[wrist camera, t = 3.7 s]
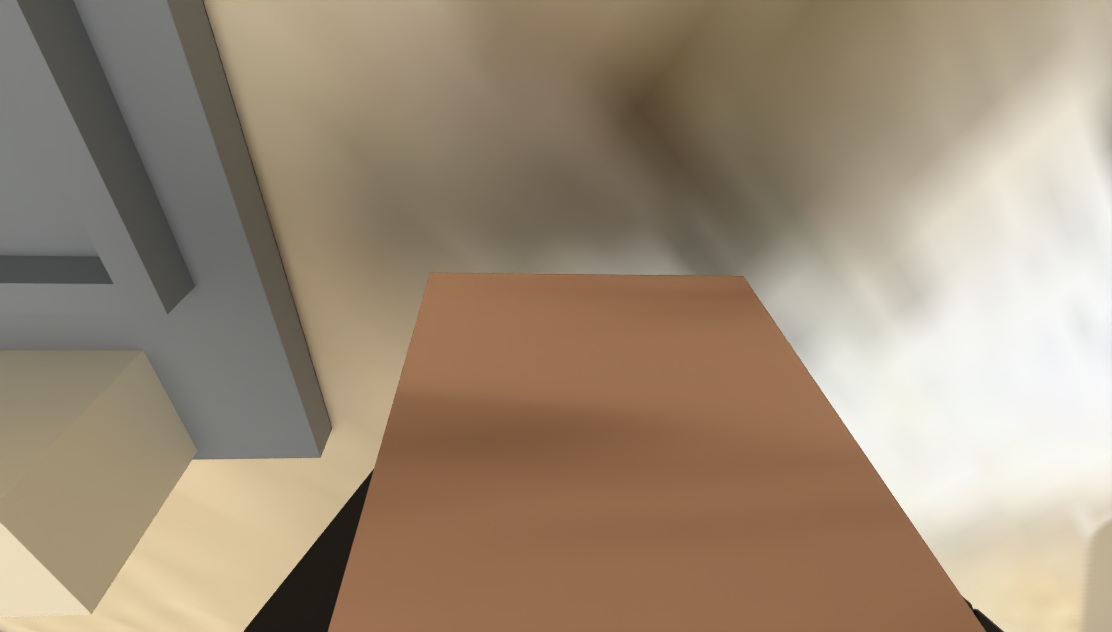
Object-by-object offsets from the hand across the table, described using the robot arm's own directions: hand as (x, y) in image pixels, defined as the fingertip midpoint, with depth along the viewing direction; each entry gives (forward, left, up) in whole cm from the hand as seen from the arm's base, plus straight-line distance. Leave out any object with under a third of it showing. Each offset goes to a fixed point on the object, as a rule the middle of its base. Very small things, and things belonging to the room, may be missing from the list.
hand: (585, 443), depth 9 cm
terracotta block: (0, 0, -1) cm, 1 cm away
